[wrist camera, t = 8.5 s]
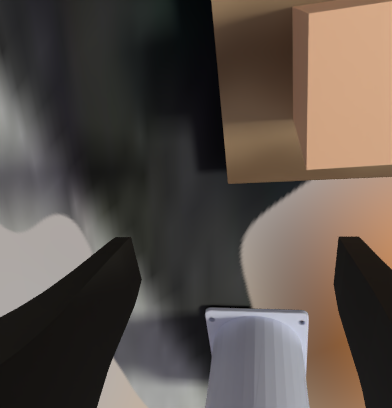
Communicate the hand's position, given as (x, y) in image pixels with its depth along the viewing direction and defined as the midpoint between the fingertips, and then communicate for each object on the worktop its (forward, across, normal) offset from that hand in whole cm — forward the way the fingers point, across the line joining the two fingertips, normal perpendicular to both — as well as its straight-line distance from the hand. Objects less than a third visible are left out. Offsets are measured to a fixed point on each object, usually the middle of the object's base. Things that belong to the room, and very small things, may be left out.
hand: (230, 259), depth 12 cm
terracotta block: (+8, -5, -5) cm, 11 cm away
